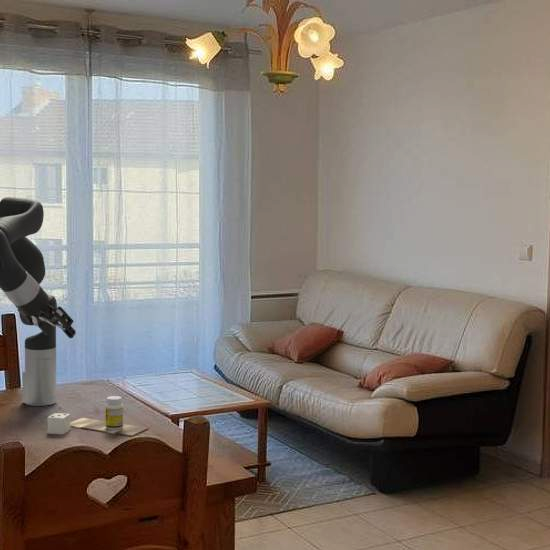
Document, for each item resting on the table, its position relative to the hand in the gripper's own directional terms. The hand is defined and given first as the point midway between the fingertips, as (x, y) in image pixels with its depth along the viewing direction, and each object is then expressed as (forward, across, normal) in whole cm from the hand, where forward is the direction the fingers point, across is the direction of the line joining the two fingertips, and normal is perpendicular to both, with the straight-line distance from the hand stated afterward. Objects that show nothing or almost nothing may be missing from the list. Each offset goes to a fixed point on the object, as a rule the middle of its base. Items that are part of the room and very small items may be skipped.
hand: (61, 333), depth 206 cm
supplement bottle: (+33, -2, +8) cm, 34 cm away
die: (+26, +9, +15) cm, 31 cm away
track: (+33, +1, +8) cm, 34 cm away
